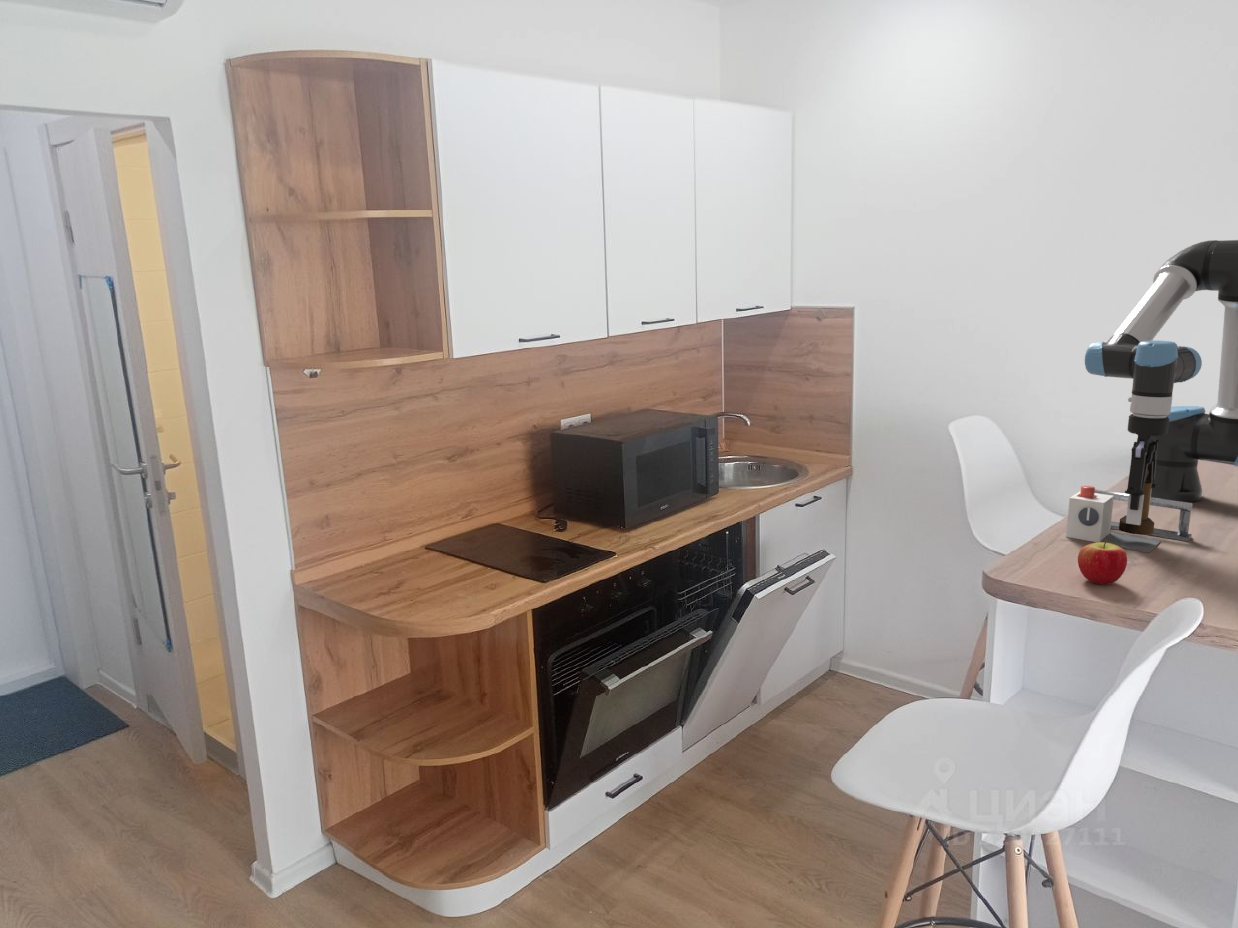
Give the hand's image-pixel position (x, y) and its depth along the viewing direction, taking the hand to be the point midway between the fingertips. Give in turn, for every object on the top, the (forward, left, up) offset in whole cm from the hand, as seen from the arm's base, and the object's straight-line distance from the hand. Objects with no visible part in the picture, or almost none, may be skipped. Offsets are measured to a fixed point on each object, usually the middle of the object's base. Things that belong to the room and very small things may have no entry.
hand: (1137, 520), depth 206 cm
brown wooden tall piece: (0, 0, -3) cm, 3 cm away
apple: (+31, +1, -6) cm, 32 cm away
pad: (0, -1, -5) cm, 5 cm away
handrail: (-11, -2, -5) cm, 12 cm away
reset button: (0, -10, +1) cm, 10 cm away
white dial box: (0, -9, -5) cm, 11 cm away
